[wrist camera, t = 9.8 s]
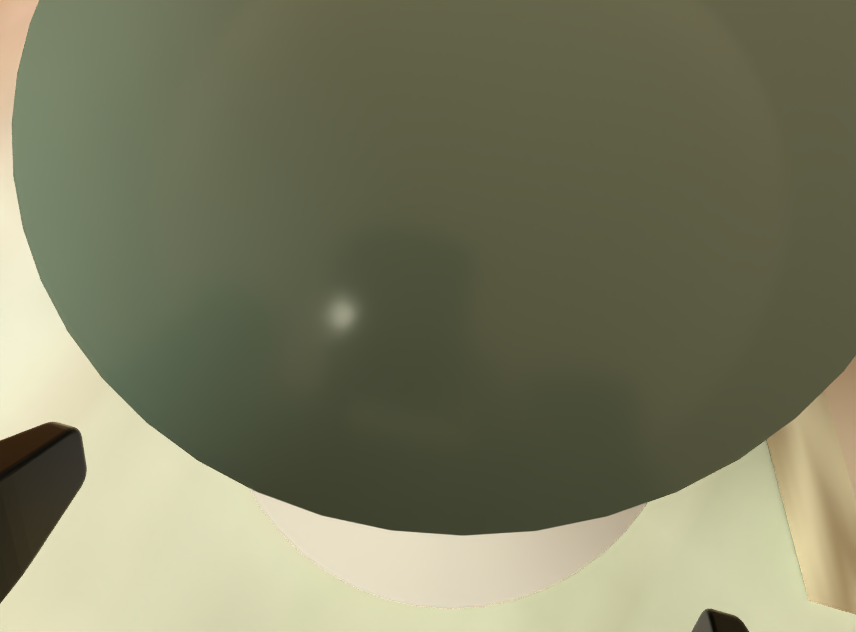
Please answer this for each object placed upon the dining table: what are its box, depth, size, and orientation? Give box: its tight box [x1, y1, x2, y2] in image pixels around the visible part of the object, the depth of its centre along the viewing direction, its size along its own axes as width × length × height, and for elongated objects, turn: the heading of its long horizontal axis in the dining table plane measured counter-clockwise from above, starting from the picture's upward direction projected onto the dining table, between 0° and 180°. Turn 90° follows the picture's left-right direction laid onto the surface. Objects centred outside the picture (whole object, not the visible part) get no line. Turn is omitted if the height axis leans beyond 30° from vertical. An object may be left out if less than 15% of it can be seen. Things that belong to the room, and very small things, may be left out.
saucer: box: [249, 488, 647, 609], centre depth 18 cm, size 12×12×1 cm
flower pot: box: [12, 0, 856, 536], centre depth 11 cm, size 7×7×13 cm
